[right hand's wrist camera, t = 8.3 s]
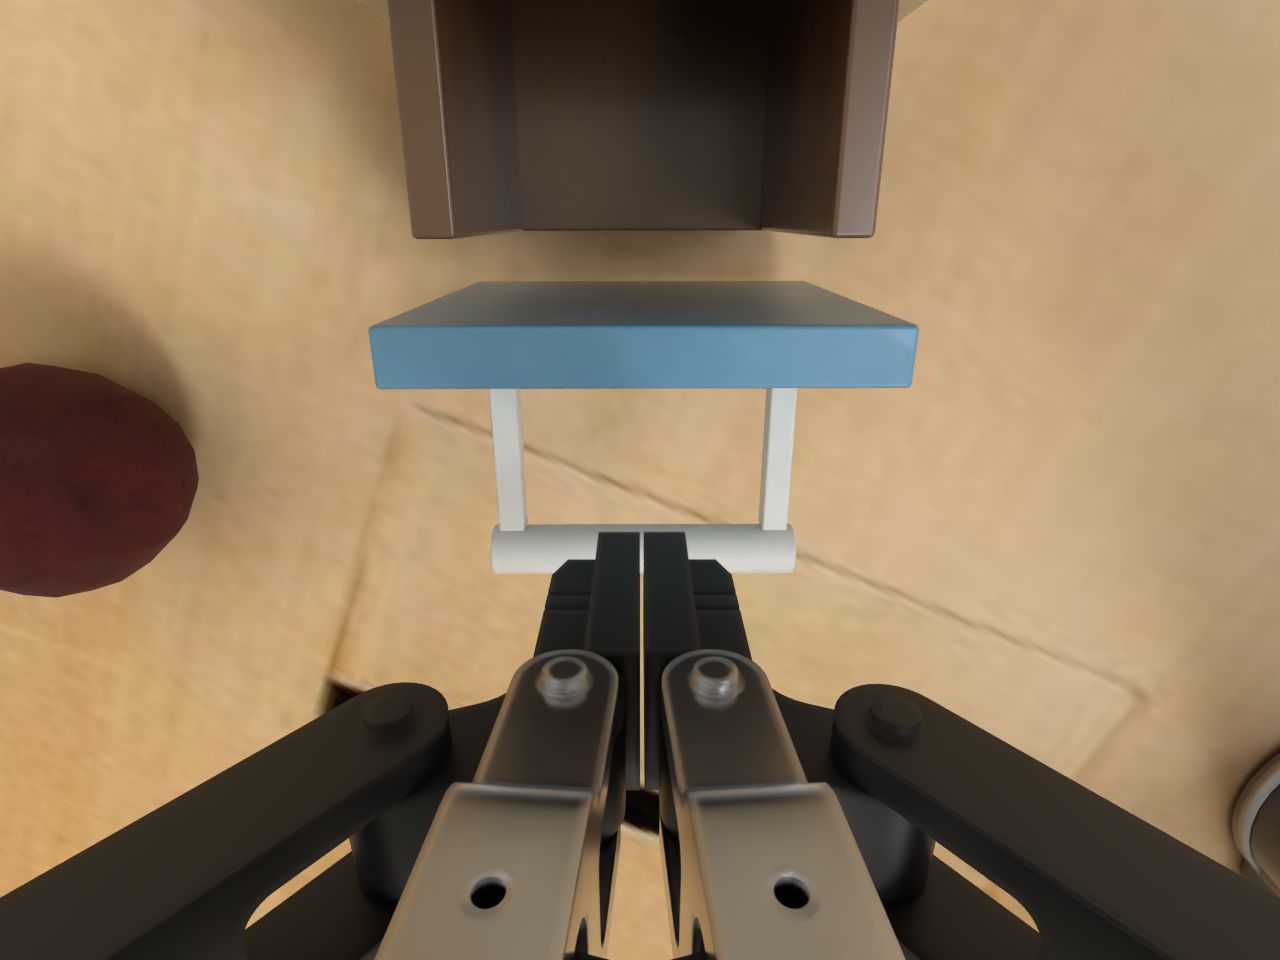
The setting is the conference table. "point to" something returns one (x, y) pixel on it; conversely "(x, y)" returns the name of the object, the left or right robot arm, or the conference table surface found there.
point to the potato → (85, 480)
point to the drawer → (643, 217)
